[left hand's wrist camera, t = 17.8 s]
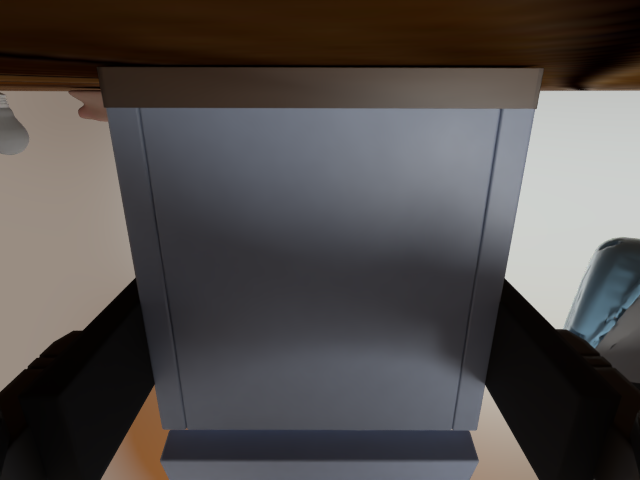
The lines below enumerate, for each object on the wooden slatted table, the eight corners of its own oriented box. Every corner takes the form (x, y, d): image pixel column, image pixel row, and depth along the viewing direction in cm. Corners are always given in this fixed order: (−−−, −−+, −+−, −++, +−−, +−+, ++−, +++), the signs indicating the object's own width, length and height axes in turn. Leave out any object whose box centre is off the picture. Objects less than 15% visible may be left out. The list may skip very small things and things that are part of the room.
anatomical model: (76, 138, 35) (207, 132, 40) (66, 89, 33) (203, 90, 39) (77, 127, 45) (180, 124, 51) (69, 90, 44) (176, 91, 49)
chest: (396, 86, 25) (386, 237, 28) (243, 85, 25) (253, 237, 28) (544, 67, 8) (477, 431, 12) (96, 67, 8) (160, 430, 12)
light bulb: (6, 91, 61) (23, 156, 65) (24, 91, 67) (38, 151, 70) (-39, 91, 60) (-19, 157, 63) (-17, 91, 65) (0, 152, 69)
